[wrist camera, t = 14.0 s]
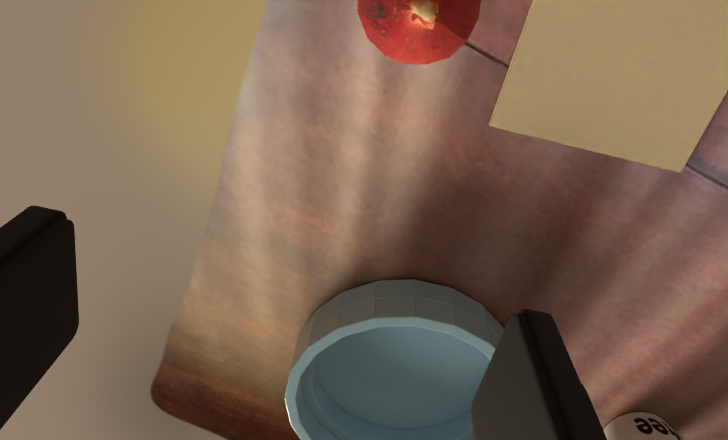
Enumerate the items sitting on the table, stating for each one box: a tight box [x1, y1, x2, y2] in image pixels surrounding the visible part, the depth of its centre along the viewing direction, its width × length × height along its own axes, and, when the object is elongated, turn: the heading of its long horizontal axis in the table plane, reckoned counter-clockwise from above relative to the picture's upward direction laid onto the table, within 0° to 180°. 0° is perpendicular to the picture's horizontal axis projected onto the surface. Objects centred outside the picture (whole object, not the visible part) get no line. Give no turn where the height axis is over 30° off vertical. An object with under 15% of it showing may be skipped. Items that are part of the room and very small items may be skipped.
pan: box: [285, 279, 504, 440], centre depth 39 cm, size 17×17×4 cm
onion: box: [358, 0, 481, 64], centre depth 25 cm, size 6×6×8 cm
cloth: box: [489, 0, 728, 172], centre depth 28 cm, size 12×14×1 cm
